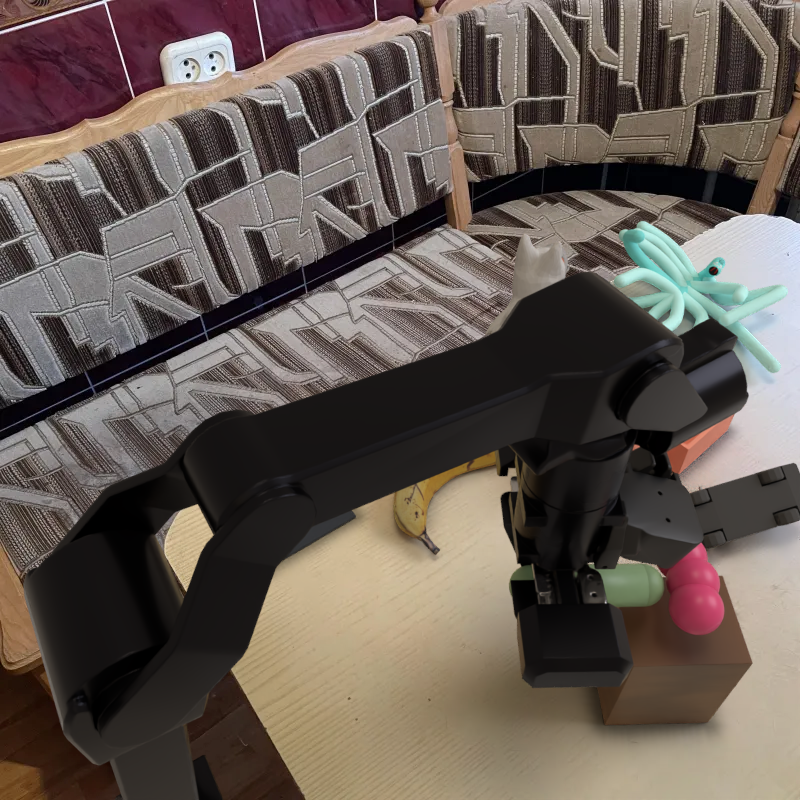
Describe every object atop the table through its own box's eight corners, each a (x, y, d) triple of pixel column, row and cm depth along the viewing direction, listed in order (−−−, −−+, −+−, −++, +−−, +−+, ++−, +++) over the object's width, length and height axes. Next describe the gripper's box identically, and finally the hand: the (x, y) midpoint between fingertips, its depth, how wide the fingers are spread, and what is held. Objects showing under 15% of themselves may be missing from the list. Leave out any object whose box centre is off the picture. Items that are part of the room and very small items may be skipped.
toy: (578, 321, 95) (588, 217, 84) (516, 423, 84) (518, 319, 73) (530, 308, 97) (534, 206, 87) (464, 405, 87) (459, 303, 76)
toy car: (695, 556, 69) (675, 556, 74) (825, 516, 70) (798, 519, 75) (672, 495, 70) (655, 499, 75) (801, 456, 71) (775, 463, 76)
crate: (604, 725, 62) (632, 666, 53) (588, 643, 67) (612, 578, 58) (708, 722, 62) (753, 663, 53) (685, 641, 67) (722, 575, 58)
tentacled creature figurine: (629, 201, 84) (692, 174, 96) (554, 279, 94) (620, 246, 106) (786, 373, 80) (831, 322, 92) (690, 436, 90) (742, 383, 102)
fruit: (433, 562, 72) (433, 545, 70) (368, 507, 77) (367, 489, 75) (533, 470, 80) (536, 452, 77) (469, 425, 84) (470, 406, 82)
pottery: (655, 384, 88) (675, 320, 80) (727, 430, 83) (756, 366, 75) (551, 467, 80) (564, 404, 72) (624, 523, 75) (646, 462, 68)
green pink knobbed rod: (512, 647, 52) (518, 622, 50) (502, 551, 58) (506, 525, 55) (726, 643, 52) (743, 619, 50) (696, 548, 58) (709, 522, 55)
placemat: (268, 569, 72) (268, 566, 72) (244, 533, 75) (244, 530, 75) (356, 517, 76) (356, 515, 76) (330, 485, 79) (330, 482, 79)
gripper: (762, 618, 38) (682, 731, 49) (669, 359, 51) (622, 496, 62) (540, 622, 38) (511, 733, 49) (502, 362, 51) (486, 498, 62)
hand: (539, 602), depth 56 cm, fingers closed on green pink knobbed rod, 3 cm apart
